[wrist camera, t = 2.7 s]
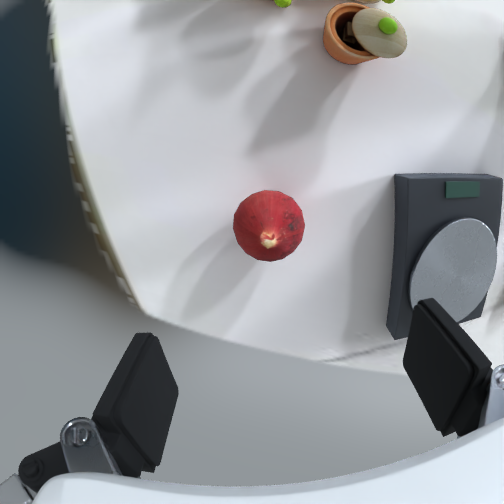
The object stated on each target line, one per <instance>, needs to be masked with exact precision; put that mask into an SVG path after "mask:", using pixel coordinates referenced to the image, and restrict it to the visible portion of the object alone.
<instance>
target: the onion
mask: <svg viewBox="0 0 504 504" xmlns="http://www.w3.org/2000/svg"><path fill="white" fill-rule="evenodd" d="M304 228H305V223H304V219H303V214H302V210H301V209H300V207H299V206H298V205H297V203H296V202H295V201H294V200H293V198H291V197H289V196H287V195H285V194H283V193H281V192H279V191H268V190H264V191H261V192H258V193H254V194H252V195H250V196H249V197H248V198H246V199H245V200H244V201H242V202H241V203H240V205H239V207H238V209H237V210H236V212H235V214H234V222H233V230H234V233H235V236H236V239H237V242H238V244H239V245H240V246H241V248H242V249H243V250H244V251H245V253H247V254H248V255H250V256H252V257H254V258H255V259H257V260H262V261H269V262H271V261H276V260H280V259H283V258H285V257H286V256H288V255H289V254H291V253H293V252H294V250H295V249H296V248H297V246H298V245H299V244H300V242H301V241H302V237H303V232H304Z"/></svg>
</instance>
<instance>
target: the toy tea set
mask: <svg viewBox="0 0 504 504" xmlns="http://www.w3.org/2000/svg"><path fill="white" fill-rule="evenodd" d="M274 1H275V4H276V5H277V6H279V7H282V8H283V7H288V6H289V5H290V4H291V0H274ZM354 1H357V2H361V3H376V2H379V1H381V0H354ZM382 1H384V2H385V3H393V2H394V1H395V0H382ZM323 43H324V46H325V48H326V50H327V52H328V53H329V54H330V55H331V56H332V57H333V58H334V59H336V60H338V61H340V62H342V63H345V64H358V63H362V62H365V61H369V60H373V59H376V58H379V57H382V58H395V57H398V56H400V55H401V54H402V53H403V52H404V51H405V49H406V46H407V36H406V33H405V30H404V28H403V27H402V25H401V24H400V23H399V21H398V20H397V19H396V18H394V17H393V16H392V15H390V14H389V13H387V12H385V11H383V10H380V9H375V8H369V7H367V6H364V5H361V4H358V3H351V2H350V3H341V4H338V5H336V6H334V7H333V8H332V9H331V10H330V11H329V13H328V14H327V17H326V21H325V28H324V35H323Z"/></svg>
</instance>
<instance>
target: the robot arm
mask: <svg viewBox="0 0 504 504" xmlns="http://www.w3.org/2000/svg"><path fill="white" fill-rule="evenodd" d="M491 365H492V363H491V362H490V360H489V359H488V358H487V357H486V355H485V354H484V353H483V352H482V351H481V350H480V348H479V347H478V346H477V345H476V344H475V342H474V341H473V340H472V339H471V338H470V337H469V336H468V334H467V333H466V332H465V331H464V330H463V329H462V328H461V327H460V325H459V324H458V323H457V322H456V321H455V320H454V319H453V318H452V317H451V316H450V315H449V314H448V312H447V311H446V310H445V309H444V308H443V307H442V306H441V305H440V304H439V303H438V302H437V301H436V300H435V299H434V298H427V299H423V300H419V301H418V303H417V305H415V306H414V308H413V314H412V320H411V325H410V330H409V335H408V340H407V344H406V349H405V353H404V357H403V366H404V369H405V370H406V372H407V374H408V376H409V378H410V380H411V381H412V383H413V385H414V387H415V389H416V391H417V393H418V395H419V397H420V398H421V400H422V402H423V404H424V406H425V408H426V410H427V412H428V414H429V416H430V418H431V420H432V422H433V424H434V426H435V428H436V430H438V431H441V433H442V435H443V437H444V436H446V435H449V434H451V433H453V432H455V431H456V433H457V435H458V437H457V439H455V440H453V441H451V442H449V443H446V444H444V445H441V446H439V447H436V448H434V449H431V450H429V451H426V452H424V453H421V454H418V455H416V456H413V457H410V458H407V459H404V460H401V461H398V462H395V463H391V464H388V465H385V466H381V467H377V468H374V469H370V470H366V471H362V472H357V473H354V474H349V475H344V476H339V477H333V478H328V479H322V480H316V481H308V482H300V483H292V484H282V485H269V486H268V485H266V486H240V487H239V486H238V487H237V486H234V487H233V486H232V487H231V486H202V485H189V484H178V483H168V482H159V481H153V480H145V479H141V478H140V475H141V471H145V472H152V473H154V470H155V467H156V466H159V465H160V462H161V459H162V455H163V450H164V446H165V443H166V439H167V435H168V431H169V427H170V424H171V420H172V416H173V413H174V409H175V405H176V401H177V397H178V387H177V384H176V382H175V379H174V377H173V375H172V372H171V370H170V368H169V365H168V362H167V360H166V357H165V355H164V353H163V350H162V347H161V345H160V342H159V339H158V338H157V337H156V336H154V335H153V334H152V333H136V334H135V336H134V337H133V339H132V341H131V343H130V344H129V346H128V348H127V350H126V351H125V353H124V355H123V357H122V359H121V361H120V363H119V364H118V366H117V368H116V370H115V372H114V373H113V375H112V377H111V379H110V381H109V383H108V385H107V387H106V389H105V391H104V393H103V394H102V396H101V398H100V400H99V402H98V404H97V406H96V408H95V410H94V412H93V416H92V419H91V420H90V419H89V418H85V417H78V418H74V419H72V420H70V421H69V422H67V423H66V424H65V425H64V427H63V428H62V430H61V433H60V442H58V443H56V444H54V445H51V446H49V447H47V448H45V449H42V450H40V451H38V452H35V453H33V454H31V455H28V456H27V457H25V458H24V459H23V460H22V461H21V463H20V465H19V470H18V471H19V475H17V474H15V473H14V474H13V475H12V476H10V477H9V478H8V479H7V480H5V481H4V482H3V483H2V484H0V504H504V364H503V365H499V366H498V367H496V368H495V369H494V370H492V368H491Z"/></svg>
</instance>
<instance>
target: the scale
mask: <svg viewBox="0 0 504 504" xmlns="http://www.w3.org/2000/svg"><path fill="white" fill-rule="evenodd" d="M394 177H395V234H394V255H393V269H392V281H391V291H390V300H389V308H388V316H387V323H386V326H387V328H388V330H389V331H390V333H391V335H392V337H393V338H394V340H397V339H401V338H406V337H408V335H409V330H410V325H411V320H412V314H413V311H412V308H411V306H410V302H409V292H408V290H409V281H410V275H411V272H412V268H413V266H414V263H415V261H416V259H417V257H418V255H419V253H420V251H421V249H422V248H423V246H424V245H425V243H426V242H427V241H428V239H429V238H430V237H431V236H432V235H433V234H434V233H435V232H436V231H437V230H438V229H439V228H440V227H442V226H443V225H444V224H446V223H448V222H450V221H452V220H454V219H457V218H462V217H470V218H475V219H477V220H479V221H481V222H483V223H484V224H485V225H486V226H487V227H488V228H489V229H490V231H491V232H492V234H493V237H494V239H495V243H496V248H497V242H498V235H499V227H500V218H501V206H502V190H503V179H502V178H499V177H495V176H492V175H488V174H456V173H420V174H395V175H394ZM487 292H488V291H487ZM486 296H487V293H486V295H485V296H484V298H483V299H482V301H481V302H480V303H479V304H478V306H477V307H476V308H475V309H474V310H473V311H472V312H471V313H470V314H469V315H467V316H466V317H465V318H463V319H462V320H460V321H459V322H457V323H458V324H459V323H463V322H466V321H469V320H472V319H476V318H479V317H481V314H482V311H483V307H484V304H485V300H486Z"/></svg>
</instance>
